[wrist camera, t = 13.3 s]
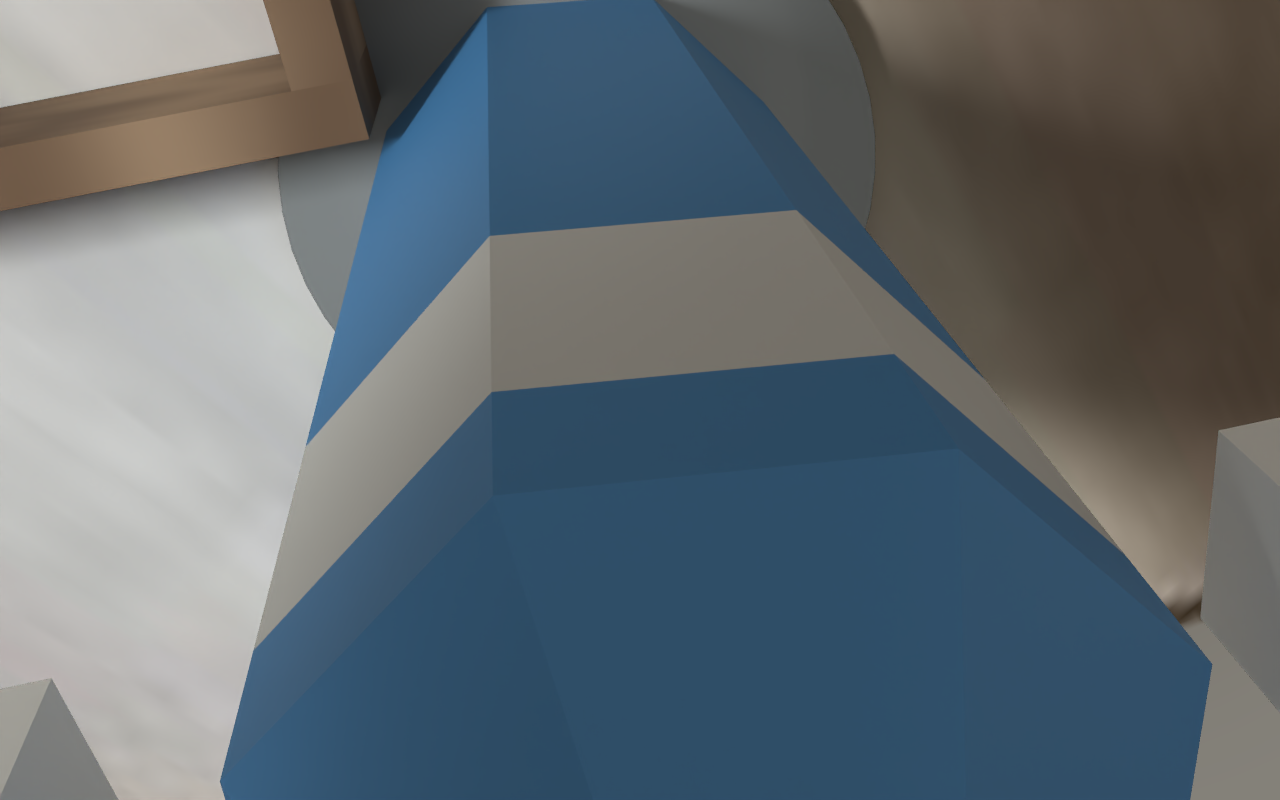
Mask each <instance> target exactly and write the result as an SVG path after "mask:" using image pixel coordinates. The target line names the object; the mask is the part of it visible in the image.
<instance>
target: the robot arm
mask: <svg viewBox="0 0 1280 800" xmlns="http://www.w3.org/2000/svg"><path fill="white" fill-rule="evenodd" d="M1200 618H1201V619H1202V621H1203V622H1204V623H1205V624H1206V625H1207V626H1208V628H1209V629H1210V630H1211V631H1212V632H1213V634H1214V635H1215V636H1216V637H1217V638H1218V640H1219V641H1220V642H1221V643H1222V644H1223V645H1224V647H1225V648H1226V649H1227V650H1228V651H1229V653H1230V654H1231V655H1232V656H1233V657H1234V659H1235V660H1236V661H1237V662H1238V663H1239V665H1240V666H1241V667H1242V668H1243V669H1244V671H1245V672H1246V673H1247V674H1248V675H1249V677H1250V678H1251V679H1252V680H1253V681H1254V683H1255V684H1256V685H1257V686H1258V687H1259V689H1260V690H1261V691H1262V692H1263V693H1264V694H1265V696H1266V697H1267V698H1268V699H1269V700H1270V702H1271V703H1272V704H1273V705H1274V706H1275V708H1276V709H1277V710H1278V711H1279V712H1280V417H1279V418H1275V419H1270V420H1265V421H1261V422H1256V423H1251V424H1246V425H1242V426H1237V427H1232V428H1228V429H1223V430H1219V431H1218V441H1217V452H1216V462H1215V472H1214V483H1213V493H1212V503H1211V514H1210V524H1209V534H1208V545H1207V555H1206V565H1205V576H1204V586H1203V596H1202V607H1201V617H1200ZM0 800H118V798H117V797H116V795H115V793H114V791H113V789H112V787H111V786H110V784H109V782H108V780H107V778H106V777H105V775H104V773H103V771H102V769H101V767H100V766H99V764H98V762H97V760H96V758H95V757H94V755H93V753H92V751H91V749H90V748H89V746H88V744H87V742H86V740H85V738H84V737H83V735H82V733H81V731H80V729H79V728H78V726H77V724H76V722H75V720H74V718H73V717H72V715H71V713H70V711H69V709H68V708H67V706H66V704H65V702H64V700H63V698H62V697H61V695H60V693H59V691H58V689H57V688H56V686H55V684H54V682H53V680H52V679H46V680H41V681H37V682H32V683H27V684H22V685H18V686H13V687H8V688H4V689H0Z"/></svg>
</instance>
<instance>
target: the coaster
mask: <svg viewBox="0 0 1280 800" xmlns="http://www.w3.org/2000/svg"><path fill="white" fill-rule="evenodd" d="M569 1H583V0H355V4H356V8H357V11H358V15H359V19H360V22H361V26H362V30H363V33H364V37H365V41H366V44H367V48H368V52H369V55H370V59H371V63H372V67H373V70H374V74H375V78H376V81H377V85H378V89H379V92H380V96H381V101H380V104H379V107H378V111H377V114H376V118H375V121H374V124H373V128H372V131H371V134H370V138H369V139H367V140H362V141H357V142H352V143H347V144H342V145H336V146H331V147H326V148H321V149H316V150H311V151H306V152H301V153H295V154H290V155H285V156H280V157H279V161H278V178H279V187H280V195H281V204H282V213H283V217H284V221H285V225H286V229H287V233H288V237H289V240H290V244H291V248H292V251H293V254H294V256H295V259H296V261H297V264H298V266H299V269H300V271H301V274H302V276H303V279H304V281H305V283H306V286H307V287H308V289H309V291H310V293H311V294H312V296H313V298H314V300H315V301H316V303H317V305H318V307H319V308H320V310H321V312H322V314H323V315H324V317H325V319H326V320H327V321H328V322H329V324H330V325H331V326H332V328H333V329H334V330H336V326H337V323H338V319H339V315H340V311H341V307H342V303H343V299H344V295H345V291H346V287H347V284H348V280H349V276H350V272H351V268H352V264H353V260H354V256H355V252H356V248H357V244H358V241H359V237H360V233H361V229H362V225H363V221H364V217H365V213H366V209H367V205H368V202H369V198H370V194H371V190H372V186H373V182H374V178H375V174H376V170H377V166H378V162H379V159H380V155H381V151H382V147H383V143H384V139H385V135H386V131H387V130H388V129H389V127H390V126H391V125H392V124H393V122H394V121H395V120H396V119H397V117H398V116H399V115H400V114H401V113H402V111H403V110H404V109H405V108H406V106H407V105H408V104H409V103H410V101H411V100H412V99H413V98H414V96H415V95H416V94H417V93H418V92H419V90H420V89H421V88H422V87H423V85H424V84H425V83H426V82H427V80H428V79H429V78H430V77H431V75H432V74H433V73H434V72H435V71H436V69H437V68H438V67H439V66H440V64H441V63H442V62H443V61H444V59H445V58H446V57H447V56H448V55H449V53H450V52H451V51H452V50H453V48H454V47H455V46H456V45H457V43H458V42H459V41H460V40H461V38H462V37H463V36H464V35H465V34H466V32H467V31H468V30H469V29H470V27H471V26H472V25H473V24H474V22H475V21H476V20H477V19H478V18H479V16H480V15H481V14H482V13H483V11H484V10H485V9H486V8H487V7H497V6H511V5H526V4H540V3H554V2H569ZM655 1H656V2H657V3H658V4H660V5H661V6H662V7H663V8H664V9H665V10H666V11H667V12H668V13H669V14H670V15H671V16H672V17H673V18H674V19H676V20H677V21H678V22H679V23H680V24H681V25H682V26H683V27H684V28H685V29H686V30H687V31H688V32H689V33H690V34H692V35H693V36H694V37H695V38H696V39H697V40H698V41H699V42H700V43H701V44H702V45H703V46H704V47H705V48H706V49H708V50H709V51H710V52H711V53H712V54H713V55H714V56H715V57H716V58H717V59H718V60H719V61H720V62H721V63H722V64H724V65H725V66H726V67H727V68H728V69H729V70H730V71H731V72H732V73H733V74H734V75H735V76H736V77H737V78H738V79H740V80H741V81H742V82H743V83H744V84H745V85H746V86H747V87H748V88H749V89H750V90H751V91H752V92H753V93H754V94H756V95H757V96H758V97H759V98H760V99H761V100H762V101H763V102H764V103H765V104H766V106H767V107H768V108H769V109H770V111H771V112H772V113H773V115H774V116H775V117H776V118H777V120H778V121H779V122H780V123H781V125H782V126H783V127H784V128H785V130H786V131H787V132H788V133H789V135H790V136H791V137H792V138H793V140H794V141H795V142H796V143H797V145H798V146H799V147H800V148H801V150H802V151H803V152H804V153H805V155H806V156H807V157H808V158H809V160H810V161H811V162H812V163H813V165H814V166H815V167H816V168H817V170H818V171H819V172H820V173H821V175H822V176H823V177H824V178H825V180H826V181H827V182H828V183H829V185H830V186H831V187H832V188H833V190H834V191H835V192H836V193H837V195H838V196H839V197H840V198H841V200H842V201H843V202H844V203H845V205H846V206H847V207H848V208H849V210H850V211H851V212H852V213H853V215H854V216H855V217H856V219H857V220H858V221H859V222H860V224H861V225H862V226H863V227H864V229H865V227H866V224H867V220H868V216H869V212H870V208H871V200H872V192H873V185H874V177H875V132H874V125H873V117H872V110H871V103H870V97H869V93H868V90H867V86H866V82H865V79H864V75H863V72H862V68H861V64H860V61H859V59H858V56H857V54H856V52H855V49H854V47H853V45H852V42H851V40H850V38H849V36H848V33H847V31H846V29H845V26H844V24H843V23H842V21H841V19H840V18H839V16H838V15H837V13H836V11H835V10H834V8H833V6H832V5H831V3H830V1H829V0H655Z"/></svg>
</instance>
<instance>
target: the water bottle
mask: <svg viewBox="0 0 1280 800" xmlns="http://www.w3.org/2000/svg"><path fill="white" fill-rule="evenodd" d="M1211 669H1212V663H1211V662H1210V661H1209V660H1208V658H1207V657H1206V656H1205V655H1204V653H1203V652H1202V651H1201V650H1200V648H1199V647H1198V646H1197V645H1196V643H1195V642H1194V641H1193V640H1192V638H1191V637H1190V636H1189V635H1188V633H1187V632H1186V631H1185V630H1184V628H1183V627H1182V626H1181V625H1180V623H1179V622H1178V621H1177V620H1176V618H1175V617H1174V616H1173V614H1172V613H1171V612H1170V611H1169V609H1168V608H1167V607H1166V606H1165V604H1164V603H1163V602H1162V601H1161V599H1160V598H1159V597H1158V596H1157V594H1156V593H1155V592H1154V591H1153V589H1152V588H1151V587H1150V586H1149V584H1148V583H1147V582H1146V581H1145V579H1144V578H1143V577H1142V576H1141V574H1140V573H1139V572H1138V571H1137V569H1136V568H1135V567H1134V566H1133V564H1132V563H1131V562H1130V561H1129V559H1128V558H1127V557H1126V556H1125V554H1124V553H1123V552H1122V551H1121V549H1120V548H1119V547H1118V546H1117V544H1116V543H1115V542H1114V541H1113V539H1112V538H1111V537H1110V536H1109V534H1108V533H1107V532H1106V531H1105V529H1104V528H1103V527H1102V526H1101V524H1100V523H1099V522H1098V521H1097V519H1096V518H1095V517H1094V516H1093V514H1092V513H1091V512H1090V510H1089V509H1088V508H1087V507H1086V505H1085V504H1084V503H1083V502H1082V500H1081V499H1080V498H1079V497H1078V495H1077V494H1076V493H1075V492H1074V490H1073V489H1072V488H1071V487H1070V485H1069V484H1068V483H1067V482H1066V480H1065V479H1064V478H1063V477H1062V475H1061V474H1060V473H1059V472H1058V470H1057V469H1056V468H1055V467H1054V465H1053V464H1052V463H1051V462H1050V460H1049V459H1048V458H1047V457H1046V455H1045V454H1044V453H1043V452H1042V450H1041V449H1040V448H1039V447H1038V445H1037V444H1036V443H1035V442H1034V440H1033V439H1032V438H1031V437H1030V435H1029V434H1028V433H1027V432H1026V430H1025V429H1024V428H1023V427H1022V425H1021V424H1020V423H1019V422H1018V420H1017V419H1016V418H1015V417H1014V415H1013V414H1012V413H1011V411H1010V410H1009V409H1008V408H1007V406H1006V405H1005V404H1004V403H1003V401H1002V400H1001V399H1000V398H999V396H998V395H997V394H996V393H995V391H994V390H993V389H992V388H991V386H990V385H989V384H988V383H987V381H986V380H985V379H984V378H983V376H982V375H981V374H980V373H979V371H978V370H977V369H976V368H975V366H974V365H973V364H972V363H971V361H970V360H969V359H968V358H967V356H966V355H965V354H964V353H963V351H962V350H961V349H960V348H959V346H958V345H957V344H956V343H955V341H954V340H953V339H952V338H951V336H950V335H949V334H948V333H947V331H946V330H945V329H944V328H943V326H942V325H941V324H940V323H939V321H938V320H937V319H936V318H935V316H934V315H933V314H932V312H931V311H930V310H929V309H928V307H927V306H926V305H925V304H924V302H923V301H922V300H921V299H920V297H919V296H918V295H917V294H916V292H915V291H914V290H913V289H912V287H911V286H910V285H909V284H908V282H907V281H906V280H905V279H904V277H903V276H902V275H901V274H900V272H899V271H898V270H897V269H896V267H895V266H894V265H893V264H892V262H891V261H890V260H889V259H888V257H887V256H886V255H885V254H884V252H883V251H882V250H881V249H880V247H879V246H878V245H877V244H876V242H875V241H874V240H873V239H872V237H871V236H870V235H869V234H868V232H867V231H866V230H865V229H864V227H863V226H862V225H861V224H860V222H859V221H858V220H857V219H856V217H855V216H854V215H853V213H852V212H851V211H850V210H849V208H848V207H847V206H846V205H845V203H844V202H843V201H842V200H841V198H840V197H839V196H838V195H837V193H836V192H835V191H834V190H833V188H832V187H831V186H830V185H829V183H828V182H827V181H826V180H825V178H824V177H823V176H822V175H821V173H820V172H819V171H818V170H817V168H816V167H815V166H814V165H813V163H812V162H811V161H810V160H809V158H808V157H807V156H806V155H805V153H804V152H803V151H802V150H801V148H800V147H799V146H798V145H797V143H796V142H795V141H794V140H793V138H792V137H791V136H790V135H789V133H788V132H787V131H786V130H785V128H784V127H783V126H782V125H781V123H780V122H779V121H778V120H777V118H776V117H775V116H774V115H773V113H772V112H771V111H770V109H769V108H768V107H767V106H766V104H765V103H764V102H763V101H762V100H761V99H760V98H759V97H758V96H757V95H756V94H754V93H753V92H752V91H751V90H750V89H749V88H748V87H747V86H746V85H745V84H744V83H743V82H742V81H741V80H740V79H738V78H737V77H736V76H735V75H734V74H733V73H732V72H731V71H730V70H729V69H728V68H727V67H726V66H725V65H724V64H722V63H721V62H720V61H719V60H718V59H717V58H716V57H715V56H714V55H713V54H712V53H711V52H710V51H709V50H708V49H706V48H705V47H704V46H703V45H702V44H701V43H700V42H699V41H698V40H697V39H696V38H695V37H694V36H693V35H692V34H690V33H689V32H688V31H687V30H686V29H685V28H684V27H683V26H682V25H681V24H680V23H679V22H678V21H677V20H676V19H674V18H673V17H672V16H671V15H670V14H669V13H668V12H667V11H666V10H665V9H664V8H663V7H662V6H661V5H660V4H658V3H657V2H656V1H655V0H583V1H569V2H554V3H540V4H526V5H511V6H497V7H487V8H486V9H485V10H484V11H483V13H482V14H481V15H480V16H479V18H478V19H477V20H476V21H475V22H474V24H473V25H472V26H471V27H470V29H469V30H468V31H467V32H466V34H465V35H464V36H463V37H462V38H461V40H460V41H459V42H458V43H457V45H456V46H455V47H454V48H453V50H452V51H451V52H450V53H449V55H448V56H447V57H446V58H445V59H444V61H443V62H442V63H441V64H440V66H439V67H438V68H437V69H436V71H435V72H434V73H433V74H432V75H431V77H430V78H429V79H428V80H427V82H426V83H425V84H424V85H423V87H422V88H421V89H420V90H419V92H418V93H417V94H416V95H415V96H414V98H413V99H412V100H411V101H410V103H409V104H408V105H407V106H406V108H405V109H404V110H403V111H402V113H401V114H400V115H399V116H398V117H397V119H396V120H395V121H394V122H393V124H392V125H391V126H390V127H389V129H388V130H387V131H386V135H385V139H384V143H383V147H382V151H381V155H380V159H379V162H378V166H377V170H376V174H375V178H374V182H373V186H372V190H371V194H370V198H369V202H368V205H367V209H366V213H365V217H364V221H363V225H362V229H361V233H360V237H359V241H358V244H357V248H356V252H355V256H354V260H353V264H352V268H351V272H350V276H349V280H348V284H347V287H346V291H345V295H344V299H343V303H342V307H341V311H340V315H339V319H338V323H337V326H336V330H335V334H334V338H333V342H332V346H331V350H330V354H329V358H328V362H327V366H326V369H325V373H324V377H323V381H322V385H321V389H320V393H319V397H318V401H317V405H316V409H315V412H314V416H313V420H312V424H311V428H310V432H309V436H308V440H307V444H306V448H305V451H304V455H303V459H302V463H301V467H300V471H299V475H298V479H297V483H296V487H295V491H294V494H293V498H292V502H291V506H290V510H289V514H288V518H287V522H286V526H285V530H284V533H283V537H282V541H281V545H280V549H279V553H278V557H277V561H276V565H275V569H274V573H273V576H272V580H271V584H270V588H269V592H268V596H267V600H266V604H265V608H264V612H263V615H262V619H261V623H260V627H259V631H258V635H257V639H256V643H255V647H254V651H253V655H252V658H251V662H250V666H249V670H248V674H247V678H246V682H245V686H244V690H243V694H242V697H241V701H240V705H239V709H238V713H237V717H236V721H235V725H234V729H233V733H232V737H231V740H230V744H229V748H228V752H227V756H226V760H225V764H224V768H223V772H222V776H221V779H220V783H221V786H222V790H223V793H224V796H225V800H1190V797H1191V791H1192V785H1193V779H1194V772H1195V766H1196V760H1197V754H1198V748H1199V742H1200V736H1201V729H1202V723H1203V717H1204V711H1205V705H1206V699H1207V692H1208V687H1209V680H1210V674H1211Z"/></svg>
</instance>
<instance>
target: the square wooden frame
mask: <svg viewBox="0 0 1280 800" xmlns="http://www.w3.org/2000/svg"><path fill="white" fill-rule="evenodd" d="M263 1H264V4H265V8H266V11H267V14H268V17H269V21H270V24H271V27H272V30H273V33H274V37H275V40H276V43H277V46H278V50H279V53H280V54H277V55H272V56H267V57H261V58H256V59H251V60H246V61H241V62H236V63H230V64H225V65H220V66H215V67H210V68H205V69H199V70H194V71H189V72H184V73H179V74H173V75H168V76H163V77H158V78H153V79H148V80H142V81H137V82H132V83H127V84H122V85H117V86H111V87H106V88H101V89H96V90H91V91H85V92H80V93H75V94H70V95H65V96H60V97H54V98H49V99H44V100H39V101H34V102H29V103H23V104H18V105H13V106H8V107H3V108H0V211H3V210H8V209H13V208H19V207H24V206H29V205H34V204H39V203H44V202H49V201H54V200H60V199H65V198H70V197H75V196H80V195H85V194H90V193H95V192H101V191H106V190H111V189H116V188H121V187H126V186H131V185H136V184H142V183H147V182H152V181H157V180H162V179H167V178H172V177H177V176H183V175H188V174H193V173H198V172H203V171H208V170H213V169H219V168H224V167H229V166H234V165H239V164H244V163H249V162H254V161H260V160H265V159H270V158H275V157H280V156H285V155H290V154H295V153H301V152H306V151H311V150H316V149H321V148H326V147H331V146H336V145H342V144H347V143H352V142H357V141H362V140H367V139H369V138H370V134H371V131H372V128H373V124H374V121H375V118H376V114H377V111H378V107H379V104H380V101H381V96H380V92H379V89H378V85H377V81H376V78H375V74H374V70H373V67H372V63H371V59H370V55H369V52H368V48H367V44H366V41H365V37H364V33H363V30H362V26H361V22H360V19H359V15H358V11H357V8H356V4H355V0H263Z"/></svg>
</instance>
